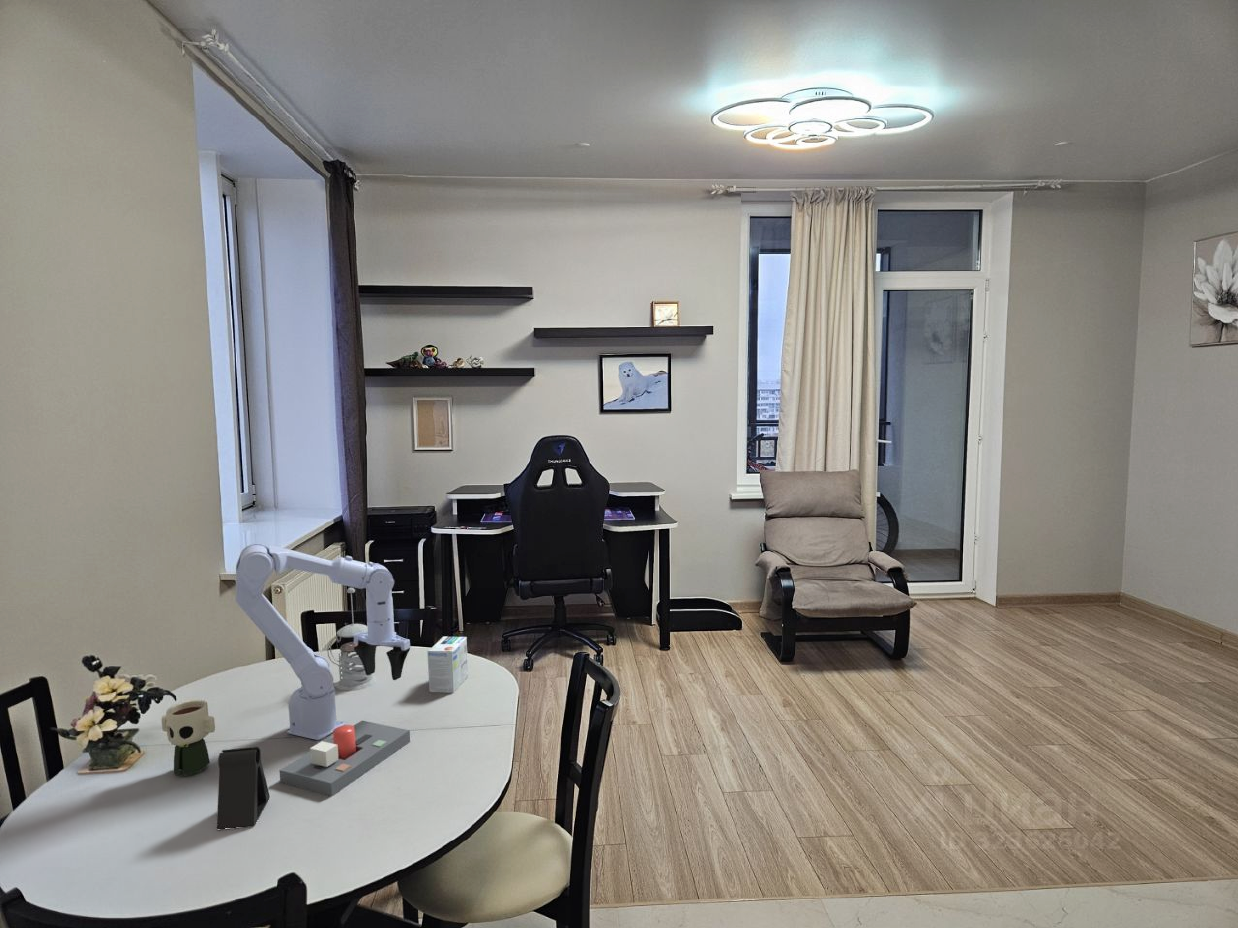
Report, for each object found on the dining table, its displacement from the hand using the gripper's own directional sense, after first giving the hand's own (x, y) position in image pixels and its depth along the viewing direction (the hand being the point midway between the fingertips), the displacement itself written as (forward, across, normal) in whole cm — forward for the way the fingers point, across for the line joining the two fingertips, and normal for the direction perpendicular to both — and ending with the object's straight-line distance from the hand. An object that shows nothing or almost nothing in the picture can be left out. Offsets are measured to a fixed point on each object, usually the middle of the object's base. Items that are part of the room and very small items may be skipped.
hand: (383, 676), depth 164 cm
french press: (+10, +21, -12) cm, 26 cm away
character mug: (+10, +20, +33) cm, 40 cm away
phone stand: (+10, -3, +40) cm, 41 cm away
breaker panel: (+9, -7, +19) cm, 22 cm away
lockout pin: (+9, -7, +20) cm, 23 cm away
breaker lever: (+6, -7, +25) cm, 27 cm away
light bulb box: (+10, -3, -20) cm, 22 cm away
